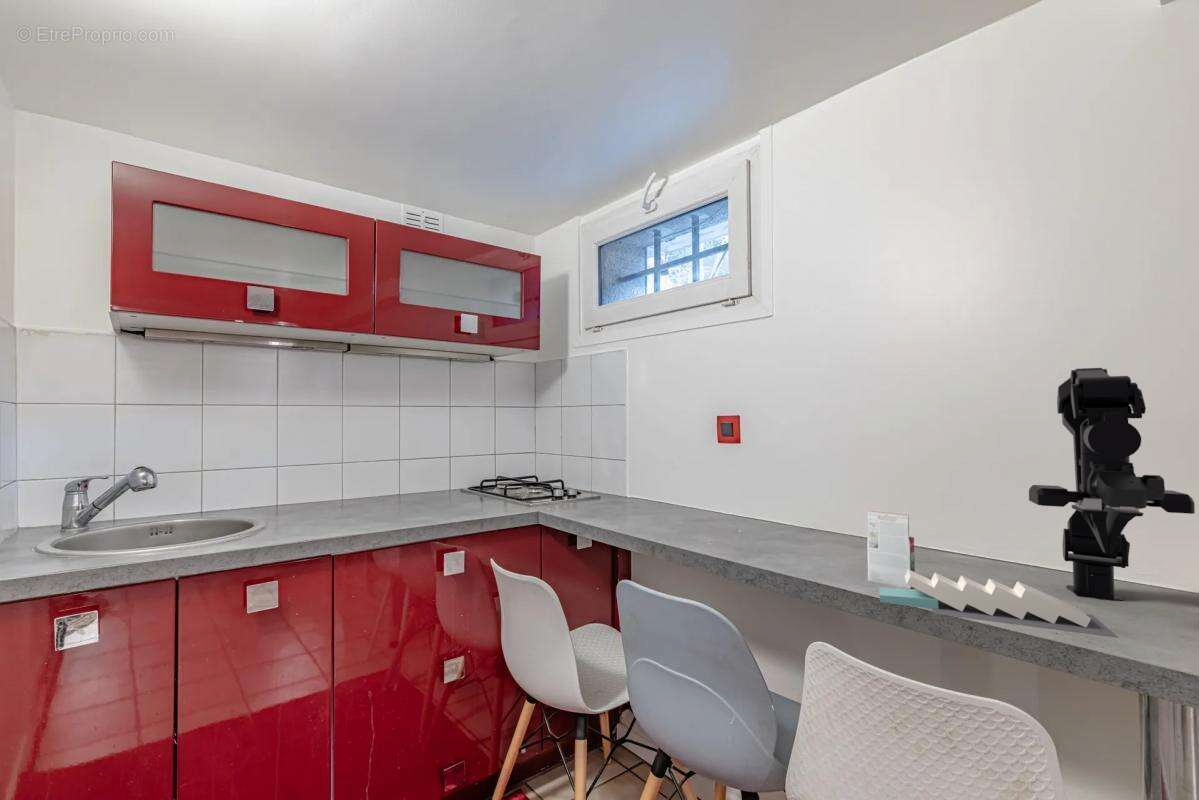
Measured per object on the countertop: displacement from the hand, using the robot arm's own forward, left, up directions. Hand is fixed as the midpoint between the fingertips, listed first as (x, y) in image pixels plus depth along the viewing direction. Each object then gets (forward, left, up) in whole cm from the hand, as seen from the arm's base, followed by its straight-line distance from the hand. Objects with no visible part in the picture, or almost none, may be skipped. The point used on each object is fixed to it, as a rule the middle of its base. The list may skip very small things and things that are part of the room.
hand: (1107, 552), depth 87 cm
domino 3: (0, -15, -11) cm, 19 cm away
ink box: (-11, -30, -12) cm, 34 cm away
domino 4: (0, -11, -11) cm, 16 cm away
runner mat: (0, -12, -12) cm, 17 cm away
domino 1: (0, -23, -11) cm, 26 cm away
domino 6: (0, -3, -11) cm, 11 cm away
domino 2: (0, -20, -11) cm, 22 cm away
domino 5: (0, -7, -11) cm, 13 cm away
